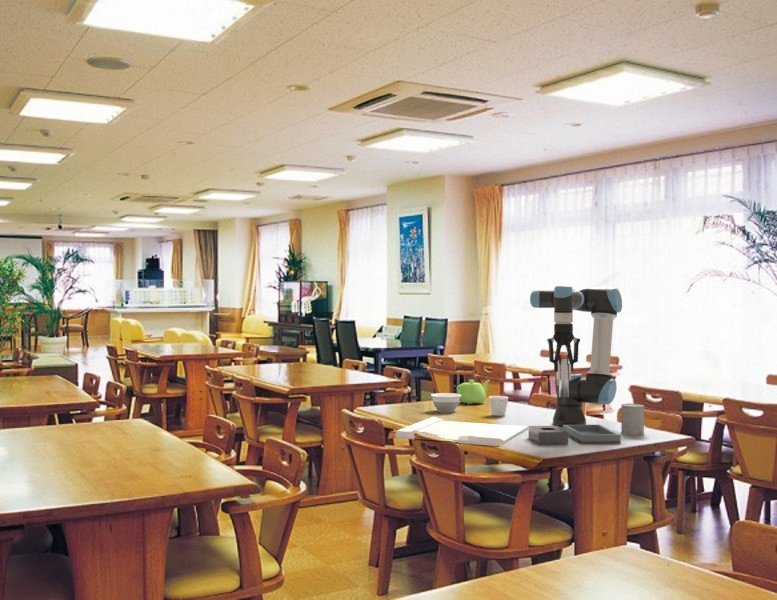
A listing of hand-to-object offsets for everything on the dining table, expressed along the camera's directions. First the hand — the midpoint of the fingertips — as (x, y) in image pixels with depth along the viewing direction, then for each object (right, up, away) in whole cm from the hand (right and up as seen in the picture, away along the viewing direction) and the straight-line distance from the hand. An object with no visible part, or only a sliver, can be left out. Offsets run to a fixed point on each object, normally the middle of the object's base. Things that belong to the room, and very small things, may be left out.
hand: (563, 379), depth 329 cm
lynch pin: (0, -7, 0) cm, 7 cm away
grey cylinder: (+33, -25, +16) cm, 45 cm away
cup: (-18, -25, +68) cm, 75 cm away
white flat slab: (-40, -26, +16) cm, 50 cm away
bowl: (-43, -25, +83) cm, 96 cm away
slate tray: (+12, -25, +5) cm, 28 cm away
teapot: (-25, -25, +115) cm, 120 cm away
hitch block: (-7, -25, -3) cm, 26 cm away
